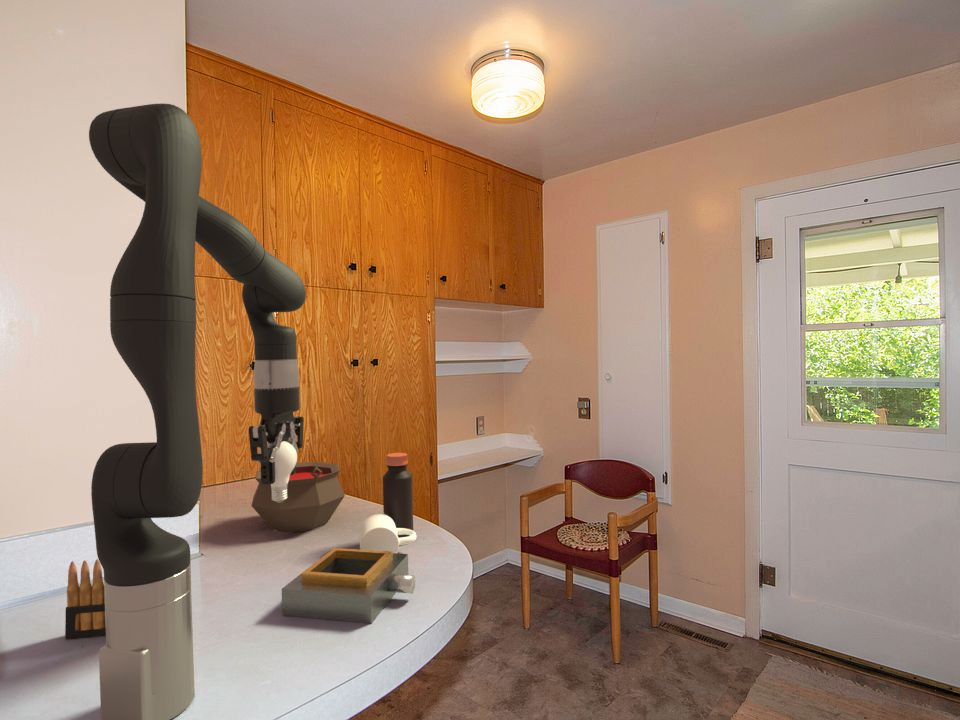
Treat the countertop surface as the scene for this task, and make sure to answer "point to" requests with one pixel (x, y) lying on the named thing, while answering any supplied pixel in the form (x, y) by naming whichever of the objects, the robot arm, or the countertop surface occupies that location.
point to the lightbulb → (283, 470)
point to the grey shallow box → (348, 585)
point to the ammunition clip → (85, 603)
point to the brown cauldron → (301, 498)
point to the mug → (383, 534)
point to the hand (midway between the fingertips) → (279, 478)
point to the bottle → (398, 491)
